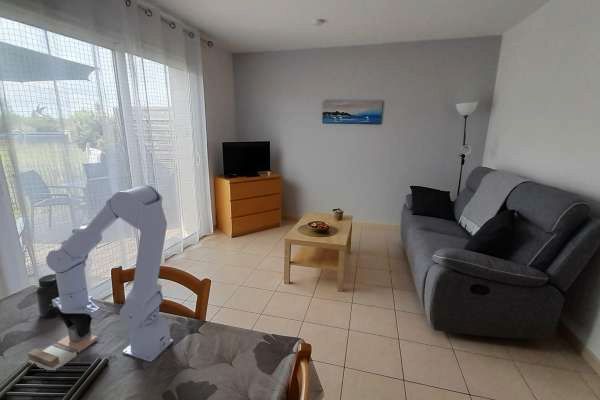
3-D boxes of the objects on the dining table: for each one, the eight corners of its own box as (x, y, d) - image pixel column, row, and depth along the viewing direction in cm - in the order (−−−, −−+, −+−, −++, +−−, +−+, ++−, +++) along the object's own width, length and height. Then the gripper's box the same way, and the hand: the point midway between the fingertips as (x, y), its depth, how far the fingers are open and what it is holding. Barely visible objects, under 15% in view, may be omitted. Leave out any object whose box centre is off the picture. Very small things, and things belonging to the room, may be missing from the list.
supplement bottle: (55, 319, 83) (49, 284, 81) (33, 318, 83) (26, 282, 81) (74, 306, 90) (69, 272, 87) (53, 304, 90) (47, 271, 87)
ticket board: (76, 355, 71) (75, 345, 70) (52, 372, 66) (50, 361, 65) (54, 347, 73) (52, 338, 72) (29, 363, 68) (27, 353, 67)
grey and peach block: (98, 338, 76) (96, 323, 75) (78, 352, 71) (75, 336, 70) (78, 332, 78) (76, 317, 77) (57, 345, 73) (54, 329, 72)
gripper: (108, 286, 74) (114, 330, 77) (69, 276, 78) (76, 318, 81) (81, 300, 67) (88, 347, 70) (40, 289, 71) (48, 334, 74)
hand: (80, 333), depth 75 cm, fingers closed on grey and peach block, 2 cm apart
